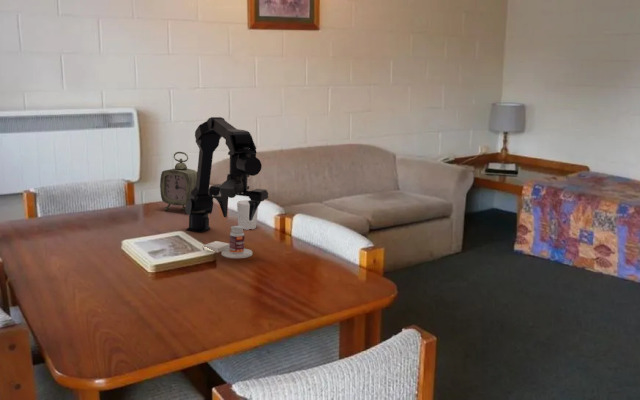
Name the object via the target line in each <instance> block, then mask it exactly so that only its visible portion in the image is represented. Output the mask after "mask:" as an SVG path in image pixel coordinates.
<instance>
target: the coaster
mask: <svg viewBox="0 0 640 400" xmlns="http://www.w3.org/2000/svg"><path fill="white" fill-rule="evenodd" d="M252 255H253V251H252V250H251V249H249V248H245V247H244V252H243V253H241V254H233V253H230V252H229V248H228V249H225V250H223V251H221V256H222V257H224V258H227V259H246V258H247V259H248V258H251V256H252Z"/></svg>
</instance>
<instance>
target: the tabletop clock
mask: <svg viewBox="0 0 640 400" xmlns="http://www.w3.org/2000/svg"><path fill="white" fill-rule="evenodd" d="M178 154H183V155H184V156H186V159H184V160H183V158H179V159H177V158H176V155H178ZM173 159H174V160H175V161H176V162H177V163H176V164H175V166H174V168H171V169H166V170H163V171H162V172H161V174H160V183H159V187H160V188H159V191H160V198H161V200H162V202H164V203H165V204H167V206H166V207H164V211H166V212H167V211H169V208H170V206H172V205H173V206H180V207H181V206H182V208H181V210H182V211H185V206H186V204H187V202H188V200H189V199H190V193H191V192H192V191H193V189H194V188H195V187H196V179H197V171H196V170H195V169H192V168H188V167H187V164H186V162H188V160H189V156H188V154H187V153H185V152H183V151H176V152H175V153H173Z"/></svg>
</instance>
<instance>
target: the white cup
mask: <svg viewBox="0 0 640 400" xmlns="http://www.w3.org/2000/svg"><path fill="white" fill-rule="evenodd" d="M250 200H251V199H243V200H242V199H240V200H238V201H237V202H236V206H237V207H236V208H237V209H236V210H237V226H242V227H243V229H244V230H246V231H250V230H249V229H252V230H255V229H256V228H257V221H258V210H259V207H258V208H257V210H256V212H255V214H254V216H253V219H252V220H251V221H249V209H250V205H249V202H248V201H250ZM244 230H243V231H244Z"/></svg>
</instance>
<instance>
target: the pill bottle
mask: <svg viewBox="0 0 640 400" xmlns="http://www.w3.org/2000/svg"><path fill="white" fill-rule="evenodd" d="M229 244H230V245H229V252H230V253H233V254H241V253H243V252H244V248H245V233H244V230H243V227H242V226H238V225H231V227H230V233H229Z"/></svg>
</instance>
